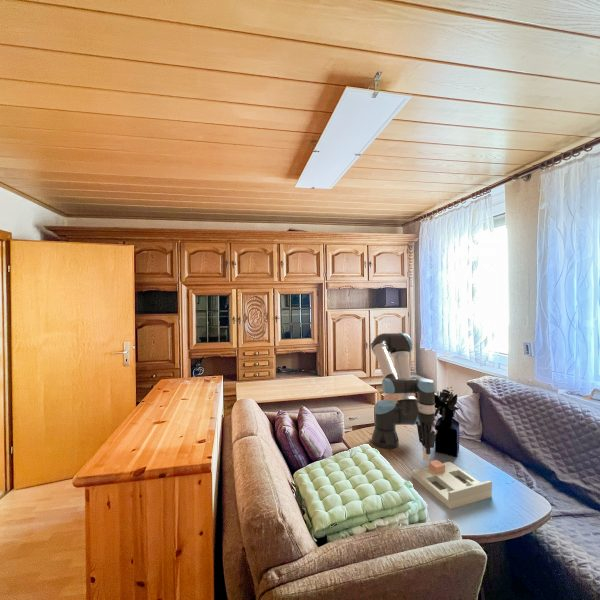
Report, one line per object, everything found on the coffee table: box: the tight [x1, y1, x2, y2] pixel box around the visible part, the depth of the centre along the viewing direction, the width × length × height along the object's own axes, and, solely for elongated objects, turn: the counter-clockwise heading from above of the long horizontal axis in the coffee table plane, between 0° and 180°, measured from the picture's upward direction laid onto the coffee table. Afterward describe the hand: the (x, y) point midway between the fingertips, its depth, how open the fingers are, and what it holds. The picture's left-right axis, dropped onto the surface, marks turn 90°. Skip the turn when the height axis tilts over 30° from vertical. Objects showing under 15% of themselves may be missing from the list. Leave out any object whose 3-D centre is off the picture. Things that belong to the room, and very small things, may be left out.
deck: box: [411, 461, 493, 510], centre depth 138 cm, size 23×22×6 cm
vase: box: [434, 386, 460, 458], centre depth 168 cm, size 14×12×35 cm
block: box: [427, 459, 445, 474], centre depth 145 cm, size 5×5×3 cm
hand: (426, 459), depth 152 cm, fingers closed
